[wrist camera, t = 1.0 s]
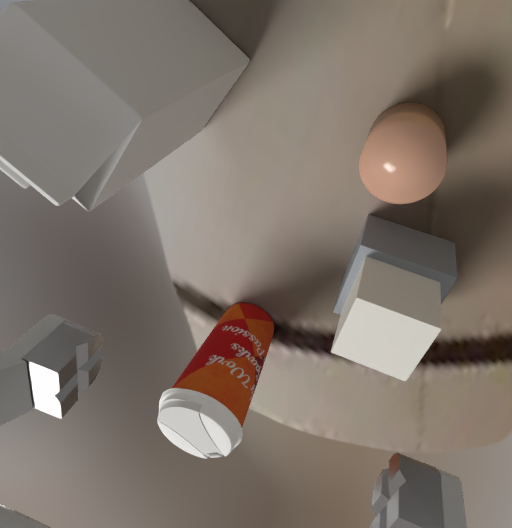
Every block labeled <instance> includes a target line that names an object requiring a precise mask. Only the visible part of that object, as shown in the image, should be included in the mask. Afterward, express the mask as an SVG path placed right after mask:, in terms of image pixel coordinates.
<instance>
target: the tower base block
mask: <svg viewBox="0 0 512 528" xmlns="http://www.w3.org/2000/svg"><path fill="white" fill-rule="evenodd" d="M366 256H367V257H370V258H373V259H376V260H379V261H381V262H384V263H387V264H390V265H393V266H396V267H398V268H401V269H404V270H407V271H410V272H412V273H415V274H418V275H421V276H424V277H427V278H429V279H432V280H435V281H438V282H440V286H441V304H442V302H443V301H444V299H445V297H446V296H447V294H448V293H449V291H450V289H451V288H452V286H453V285H454V283H455V281H456V280H457V278H458V274H457V262H456V250H455V242H452V241H449V240H445V239H442V238H439V237H436V236H433V235H430V234H427V233H424V232H421V231H418V230H415V229H412V228H409V227H406V226H402V225H399V224H396V223H393V222H390V221H387V220H384V219H381V218H378V217H375V216H372V215H369V214H368V217H367V219H366V222H365V224H364V227H363V229H362V232H361V234H360V236H359V239H358V241H357V244H356V246H355V249H354V251H353V254H352V256H351V259H350V261H349V264H348V266H347V269H346V271H345V274H344V276H343V279H342V282H341V285H340V289H339V292H338V296H337V300H336V303H335V307H334V310H333V313H335V314H338V315H341V311H342V308H343V306H344V304H345V301H346V299H347V297H348V295H349V292H350V290H351V288H352V286H353V283H354V281H355V279H356V277H357V275H358V272H359V270H360V268H361V266H362V263H363V261H364V259H365V257H366Z"/></svg>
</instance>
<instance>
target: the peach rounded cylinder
mask: <svg viewBox="0 0 512 528" xmlns="http://www.w3.org/2000/svg"><path fill="white" fill-rule="evenodd" d="M446 169H447V150H446V137H445V129H444V125H443V122H442V121H441V119H440V117H439V116H438V115H437V114H436V113H435V112H434V111H433V110H432V109H430V108H429V107H427V106H425V105H422V104H418V103H402V104H398V105H395V106H392V107H390V108H388V109H387V110H385V111H384V112H383V113H381V114H380V115H379V116H378V117H377V119H376V120H375V121H374V123H373V125H372V127H371V129H370V132H369V134H368V137H367V140H366V142H365V145H364V148H363V151H362V153H361V157H360V162H359V171H360V176H361V179H362V181H363V183H364V185H365V187H366V188H367V189H368V190H369V192H371V193H372V194H373V195H374V196H376V197H377V198H379V199H381V200H383V201H386V202H389V203H394V204H407V203H412V202H416V201H419V200H421V199H423V198H425V197H427V196H428V195H430V194H431V193H432V192H433V191H434V190H435V189H436V188H437V187H438V186H439V185H440V183H441V182H442V180H443V178H444V176H445V173H446Z"/></svg>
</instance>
